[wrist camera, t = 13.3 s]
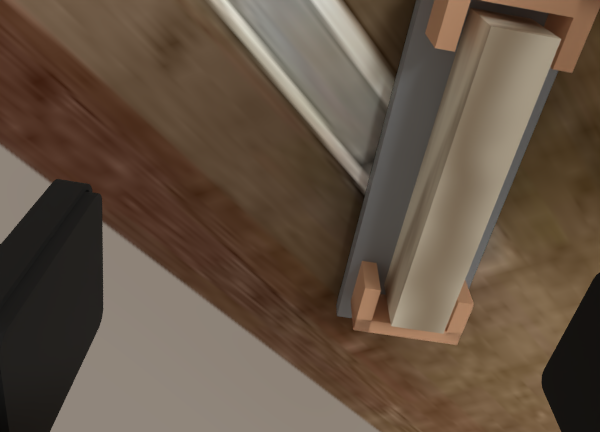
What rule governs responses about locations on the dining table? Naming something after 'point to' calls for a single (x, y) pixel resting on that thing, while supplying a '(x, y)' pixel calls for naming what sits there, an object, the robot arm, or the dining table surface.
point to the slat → (466, 163)
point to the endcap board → (414, 139)
